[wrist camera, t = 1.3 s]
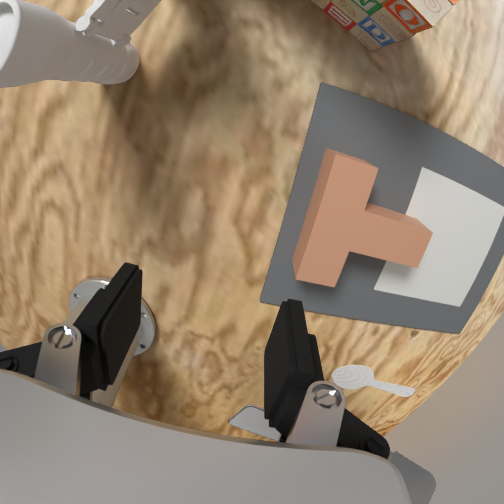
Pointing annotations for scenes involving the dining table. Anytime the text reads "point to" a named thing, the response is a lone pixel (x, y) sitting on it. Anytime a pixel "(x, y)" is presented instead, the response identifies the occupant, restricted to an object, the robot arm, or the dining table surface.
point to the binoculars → (70, 42)
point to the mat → (403, 201)
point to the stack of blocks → (385, 18)
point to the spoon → (365, 380)
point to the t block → (352, 223)
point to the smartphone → (254, 422)
